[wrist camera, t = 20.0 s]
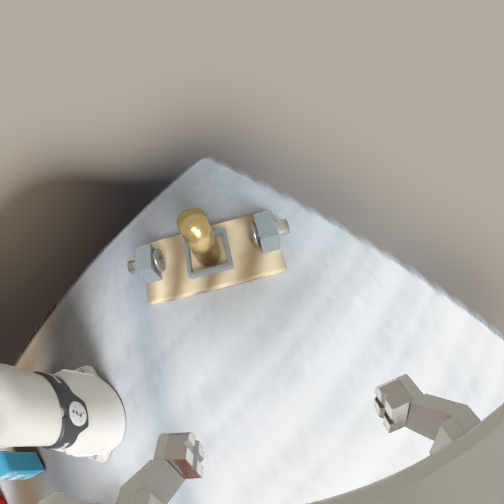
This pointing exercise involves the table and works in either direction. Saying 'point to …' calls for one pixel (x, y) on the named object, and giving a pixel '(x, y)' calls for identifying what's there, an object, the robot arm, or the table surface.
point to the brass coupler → (199, 236)
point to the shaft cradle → (224, 270)
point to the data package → (19, 465)
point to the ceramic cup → (2, 500)
